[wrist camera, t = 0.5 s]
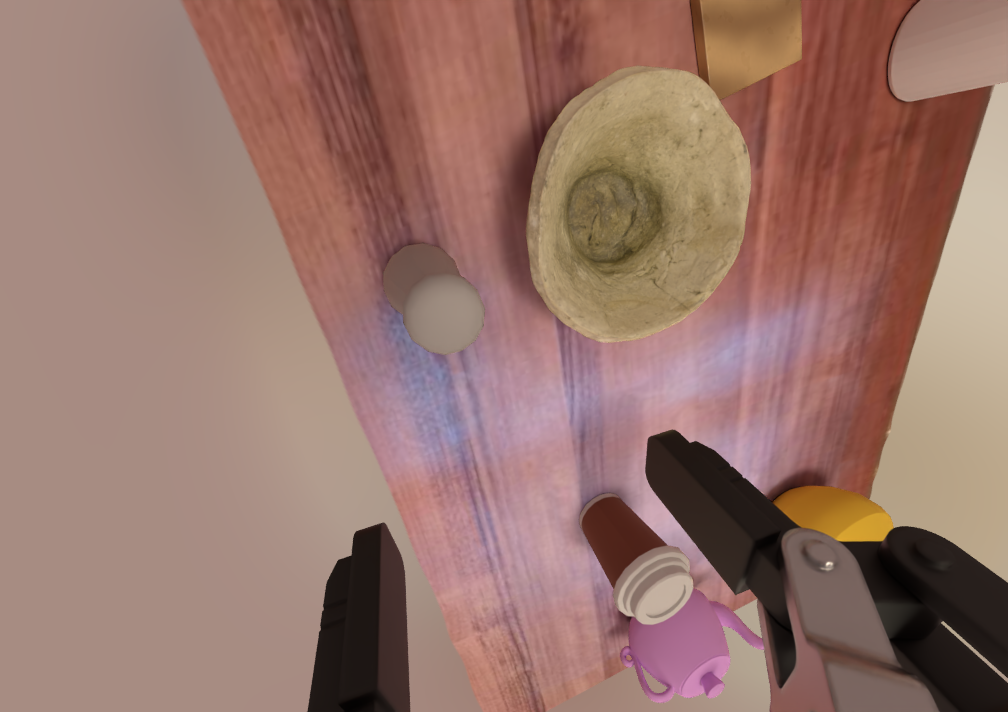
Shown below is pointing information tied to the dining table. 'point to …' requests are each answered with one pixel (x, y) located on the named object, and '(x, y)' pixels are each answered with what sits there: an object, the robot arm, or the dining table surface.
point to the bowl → (637, 203)
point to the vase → (835, 513)
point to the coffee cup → (636, 561)
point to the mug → (949, 48)
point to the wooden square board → (745, 40)
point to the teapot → (686, 649)
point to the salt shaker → (433, 299)
